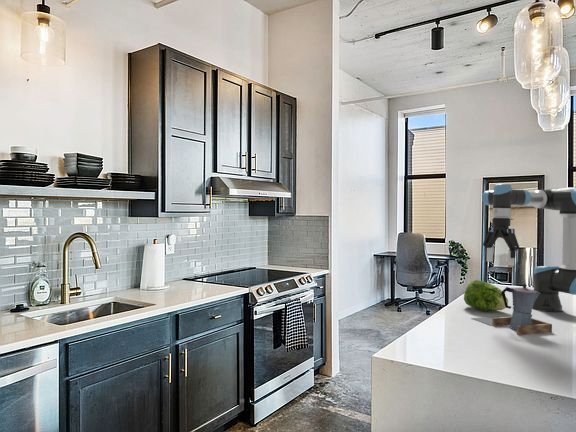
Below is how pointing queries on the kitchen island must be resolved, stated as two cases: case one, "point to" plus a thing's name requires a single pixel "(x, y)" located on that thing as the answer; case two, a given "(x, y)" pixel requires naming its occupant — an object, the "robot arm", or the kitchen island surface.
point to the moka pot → (521, 305)
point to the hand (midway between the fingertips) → (499, 263)
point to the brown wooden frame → (525, 326)
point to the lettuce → (484, 296)
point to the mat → (485, 320)
